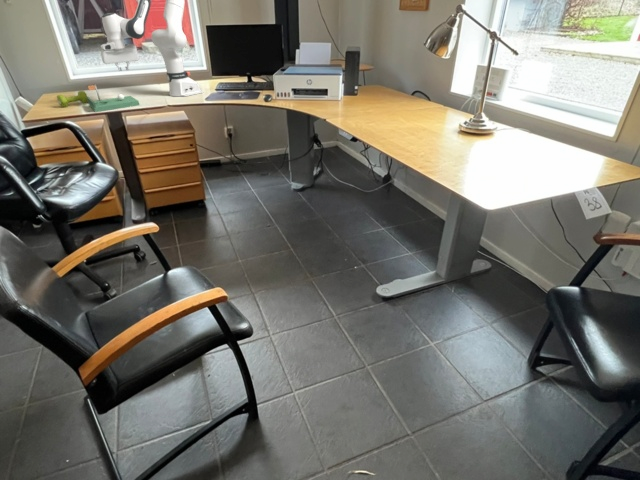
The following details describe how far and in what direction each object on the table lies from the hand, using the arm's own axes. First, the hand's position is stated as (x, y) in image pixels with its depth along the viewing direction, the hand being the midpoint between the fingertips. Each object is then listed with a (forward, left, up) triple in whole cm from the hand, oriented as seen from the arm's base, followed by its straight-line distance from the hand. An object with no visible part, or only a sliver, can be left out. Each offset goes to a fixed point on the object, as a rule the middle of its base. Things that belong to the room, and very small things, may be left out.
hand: (124, 70), depth 233 cm
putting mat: (+11, 0, -19) cm, 22 cm away
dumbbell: (+30, -20, -20) cm, 41 cm away
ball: (+6, 0, -15) cm, 16 cm away
